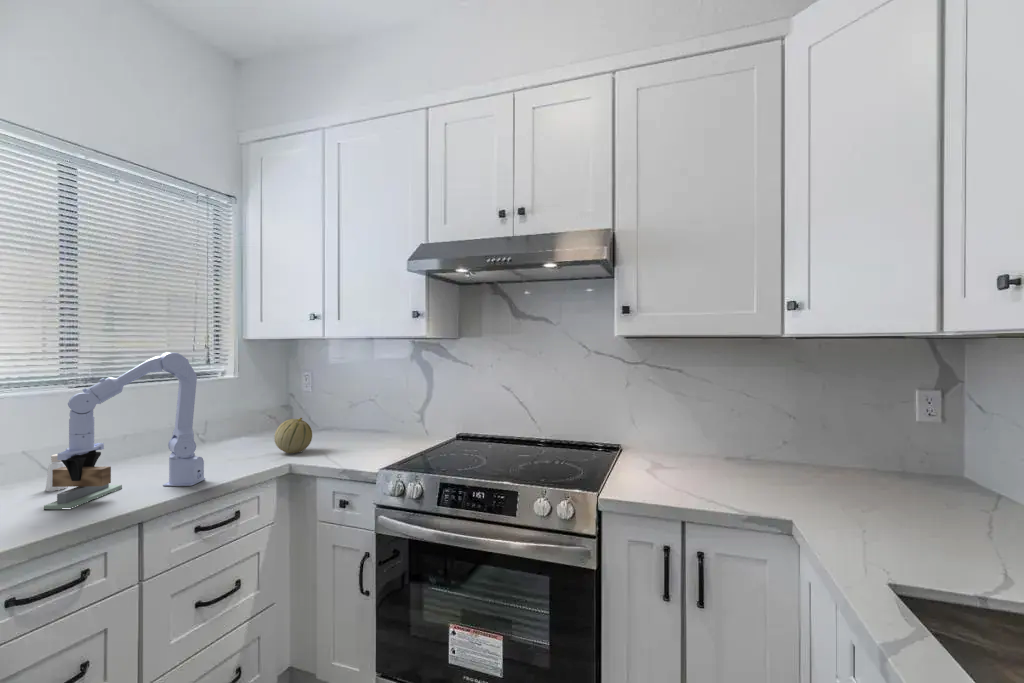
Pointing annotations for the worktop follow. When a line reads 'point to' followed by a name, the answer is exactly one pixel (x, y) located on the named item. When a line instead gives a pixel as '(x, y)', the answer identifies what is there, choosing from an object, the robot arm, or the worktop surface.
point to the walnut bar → (82, 477)
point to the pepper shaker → (52, 465)
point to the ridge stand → (80, 495)
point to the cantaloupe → (293, 436)
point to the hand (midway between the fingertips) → (81, 478)
